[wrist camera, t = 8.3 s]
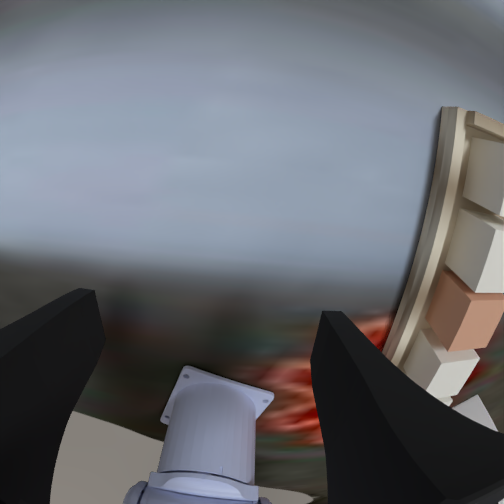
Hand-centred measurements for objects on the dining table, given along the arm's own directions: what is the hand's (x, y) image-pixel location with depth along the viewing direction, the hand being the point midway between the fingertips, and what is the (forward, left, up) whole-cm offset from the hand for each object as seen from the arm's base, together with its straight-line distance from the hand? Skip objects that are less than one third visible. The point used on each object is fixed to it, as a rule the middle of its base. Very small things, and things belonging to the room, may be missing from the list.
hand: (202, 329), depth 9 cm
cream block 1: (-2, -19, -9) cm, 21 cm away
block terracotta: (+2, -17, -9) cm, 19 cm away
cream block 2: (+11, -14, -9) cm, 20 cm away
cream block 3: (+7, -15, -9) cm, 19 cm away
